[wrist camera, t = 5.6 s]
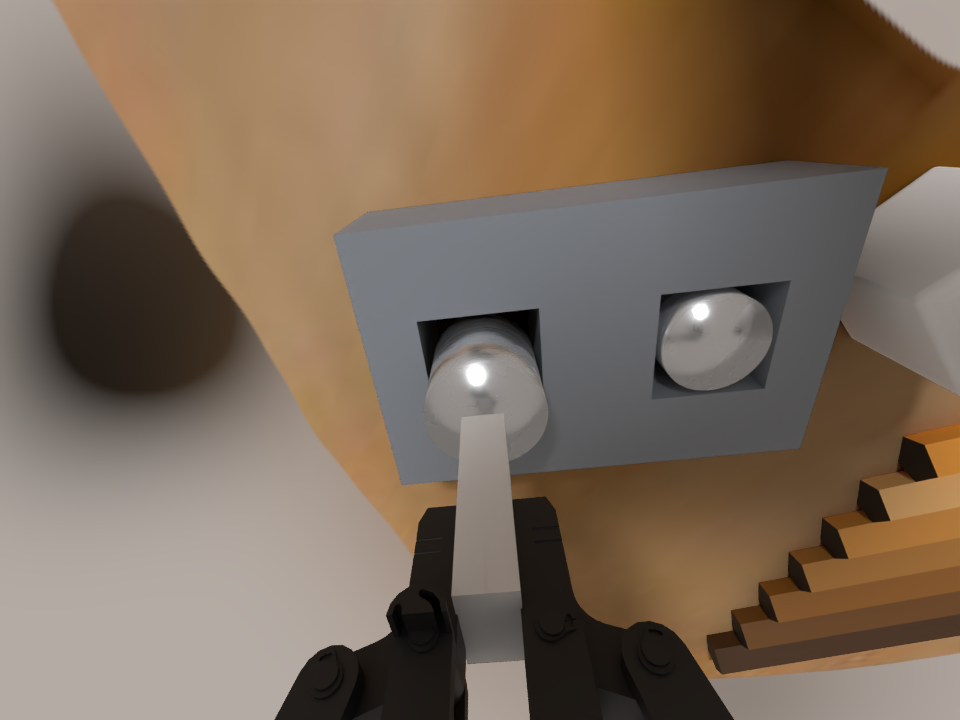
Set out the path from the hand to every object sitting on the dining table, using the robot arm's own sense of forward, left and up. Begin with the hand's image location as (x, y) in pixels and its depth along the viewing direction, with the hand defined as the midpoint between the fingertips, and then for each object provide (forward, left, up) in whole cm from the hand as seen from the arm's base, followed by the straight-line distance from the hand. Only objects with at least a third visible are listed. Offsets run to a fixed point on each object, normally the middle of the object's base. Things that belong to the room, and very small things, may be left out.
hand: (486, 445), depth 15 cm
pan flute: (+25, +29, -12) cm, 40 cm away
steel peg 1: (0, 0, -7) cm, 7 cm away
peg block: (0, +6, -12) cm, 13 cm away
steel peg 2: (0, +11, -11) cm, 15 cm away
